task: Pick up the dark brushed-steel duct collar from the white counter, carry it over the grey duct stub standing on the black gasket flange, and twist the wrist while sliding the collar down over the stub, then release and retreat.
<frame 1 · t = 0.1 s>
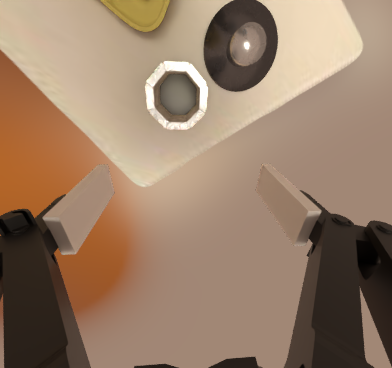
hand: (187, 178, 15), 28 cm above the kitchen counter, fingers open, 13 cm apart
duct stub: (240, 50, 34), on the kitchen counter
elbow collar: (178, 95, 37), on the kitchen counter
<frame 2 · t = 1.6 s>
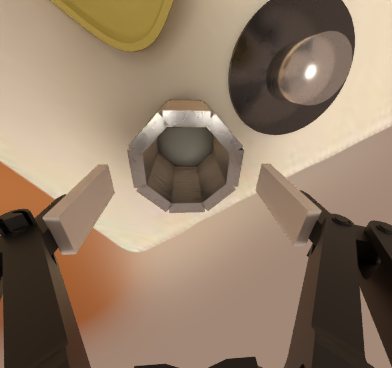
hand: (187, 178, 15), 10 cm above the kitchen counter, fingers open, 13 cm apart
duct stub: (288, 73, 20), on the kitchen counter
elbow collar: (185, 140, 24), on the kitchen counter
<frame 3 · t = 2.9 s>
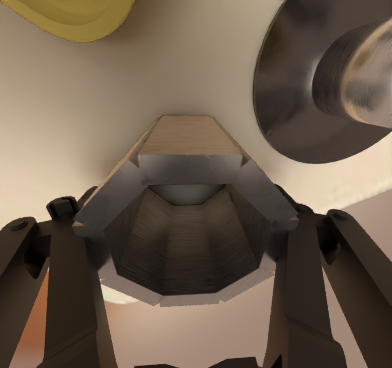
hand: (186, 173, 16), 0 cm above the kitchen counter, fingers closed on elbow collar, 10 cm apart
duct stub: (344, 75, 13), on the kitchen counter
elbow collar: (186, 172, 16), on the kitchen counter, touching gripper
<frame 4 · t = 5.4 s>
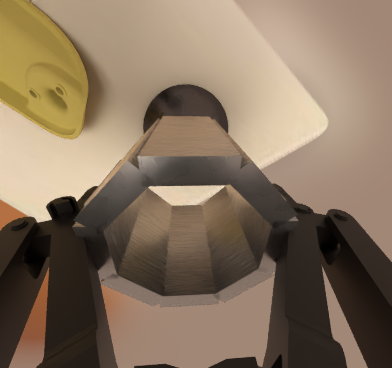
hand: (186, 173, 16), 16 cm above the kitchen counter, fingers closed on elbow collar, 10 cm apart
plastic component: (34, 66, 24), on the kitchen counter
duct stub: (186, 132, 30), on the kitchen counter
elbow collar: (186, 172, 16), point 15 cm above the kitchen counter, touching gripper
when the fingers open (3 cm above the kitchen counter, at t = 8.0 s): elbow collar drops 2 cm, resting on duct stub.
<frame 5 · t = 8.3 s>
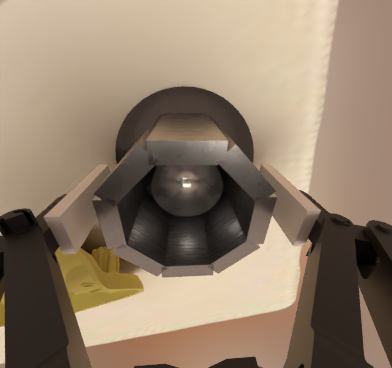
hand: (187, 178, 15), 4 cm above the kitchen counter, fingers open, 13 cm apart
plastic component: (82, 263, 26), on the kitchen counter
duct stub: (186, 162, 19), on the kitchen counter
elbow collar: (185, 164, 18), resting on duct stub
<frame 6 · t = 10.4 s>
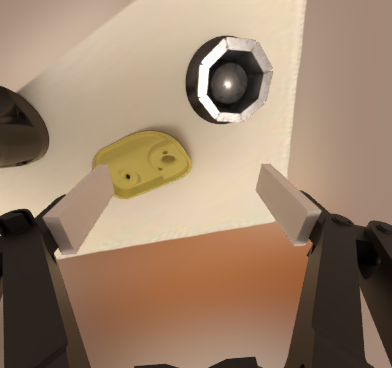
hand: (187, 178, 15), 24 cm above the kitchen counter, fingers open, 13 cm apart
plastic component: (147, 161, 40), on the kitchen counter
duct stub: (223, 84, 33), on the kitchen counter
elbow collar: (223, 84, 32), resting on duct stub
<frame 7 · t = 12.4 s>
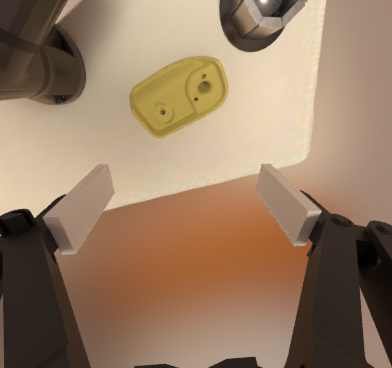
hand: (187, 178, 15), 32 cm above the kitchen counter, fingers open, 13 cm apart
plastic component: (179, 98, 41), on the kitchen counter
duct stub: (255, 6, 34), on the kitchen counter
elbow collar: (256, 6, 33), resting on duct stub
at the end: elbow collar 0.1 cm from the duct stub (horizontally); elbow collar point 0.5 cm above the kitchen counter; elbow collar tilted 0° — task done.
